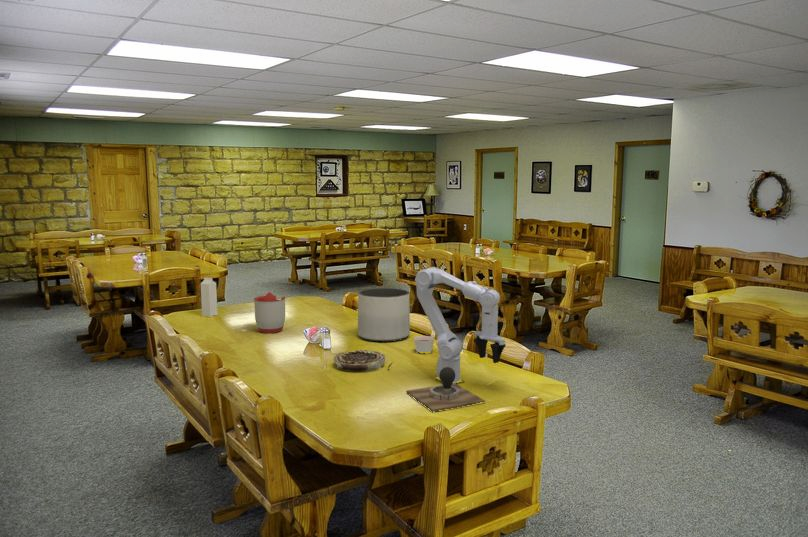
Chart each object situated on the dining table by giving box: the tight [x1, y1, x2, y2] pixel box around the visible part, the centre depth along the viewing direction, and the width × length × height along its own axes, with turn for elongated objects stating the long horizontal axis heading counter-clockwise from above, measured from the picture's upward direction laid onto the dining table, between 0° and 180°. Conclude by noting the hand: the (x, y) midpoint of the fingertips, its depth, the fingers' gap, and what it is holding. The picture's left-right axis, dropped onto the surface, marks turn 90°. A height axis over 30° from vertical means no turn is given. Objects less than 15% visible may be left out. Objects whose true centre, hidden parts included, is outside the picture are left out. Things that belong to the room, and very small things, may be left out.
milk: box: [200, 276, 218, 316], centre depth 333 cm, size 6×6×22 cm
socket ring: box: [430, 384, 459, 401], centre depth 206 cm, size 10×10×2 cm
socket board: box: [405, 383, 486, 412], centre depth 207 cm, size 20×20×1 cm
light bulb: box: [439, 367, 455, 394], centre depth 206 cm, size 6×6×10 cm
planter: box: [357, 287, 411, 342], centre depth 289 cm, size 25×25×22 cm
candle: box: [413, 335, 435, 353], centre depth 263 cm, size 9×9×6 cm
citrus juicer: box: [253, 291, 286, 334], centre depth 301 cm, size 16×17×20 cm
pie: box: [333, 349, 389, 373], centre depth 244 cm, size 28×27×5 cm
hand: (489, 360), depth 216 cm, fingers open, 7 cm apart
